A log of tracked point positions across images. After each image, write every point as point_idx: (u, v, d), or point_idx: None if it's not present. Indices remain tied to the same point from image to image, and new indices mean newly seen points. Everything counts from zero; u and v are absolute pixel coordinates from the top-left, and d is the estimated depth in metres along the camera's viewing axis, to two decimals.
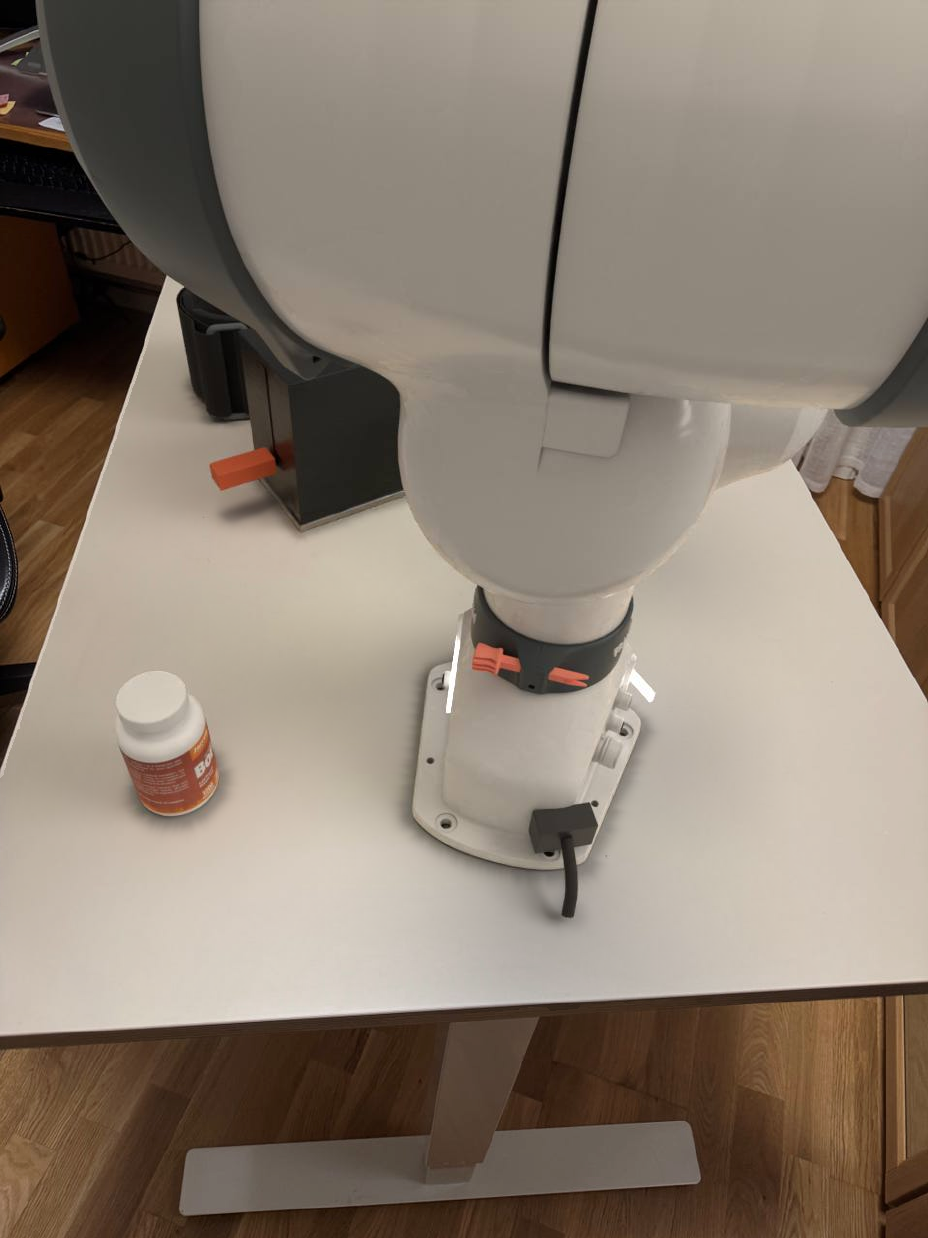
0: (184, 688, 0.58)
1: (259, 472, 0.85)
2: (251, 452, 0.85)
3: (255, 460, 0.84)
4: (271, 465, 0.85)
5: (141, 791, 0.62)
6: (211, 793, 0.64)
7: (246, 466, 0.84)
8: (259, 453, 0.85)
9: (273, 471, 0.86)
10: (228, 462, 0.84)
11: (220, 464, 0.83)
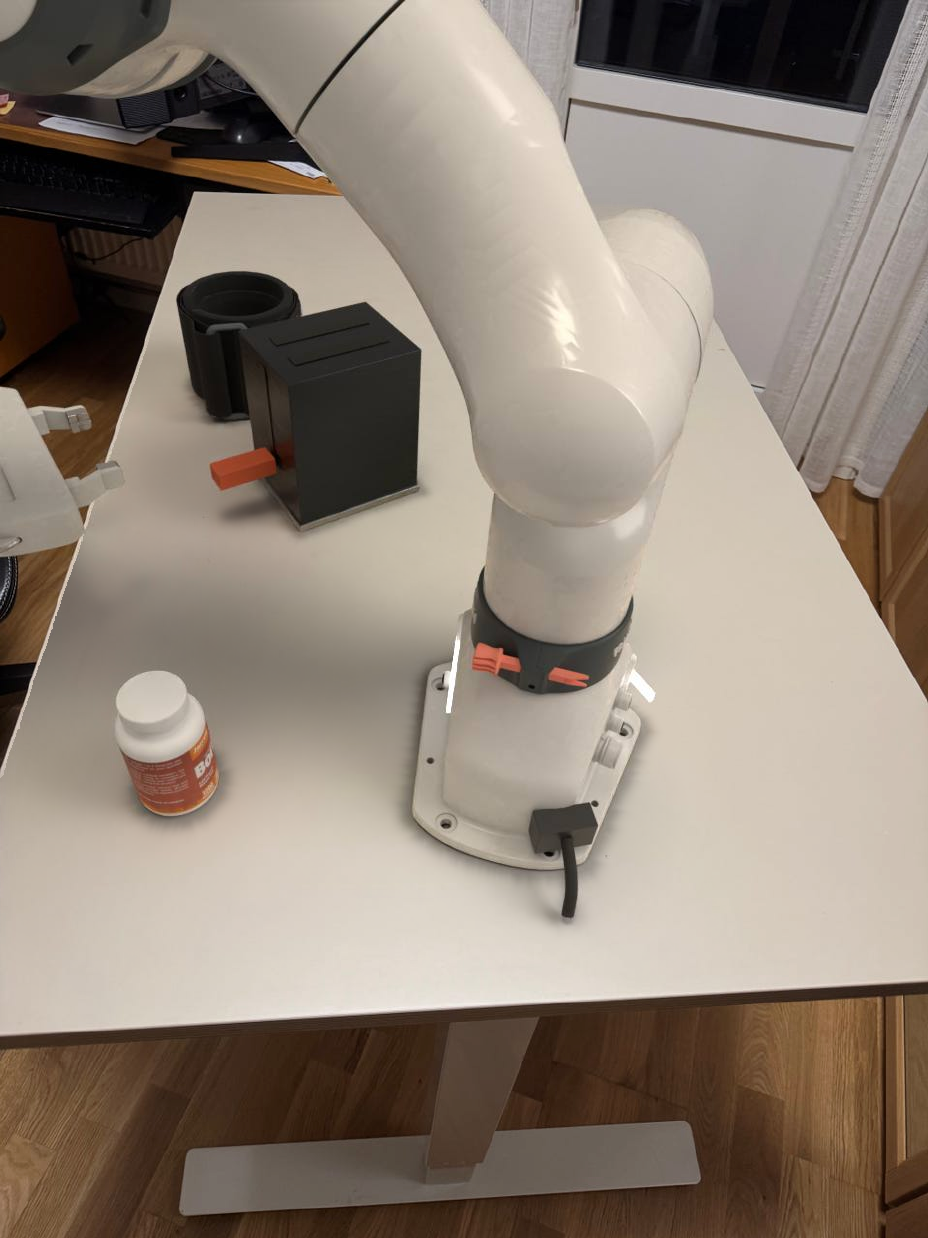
0: (184, 688, 0.58)
1: (259, 472, 0.85)
2: (251, 452, 0.85)
3: (255, 460, 0.84)
4: (271, 465, 0.85)
5: (141, 791, 0.62)
6: (211, 793, 0.64)
7: (246, 466, 0.84)
8: (259, 453, 0.85)
9: (273, 471, 0.86)
10: (228, 462, 0.84)
11: (220, 464, 0.83)
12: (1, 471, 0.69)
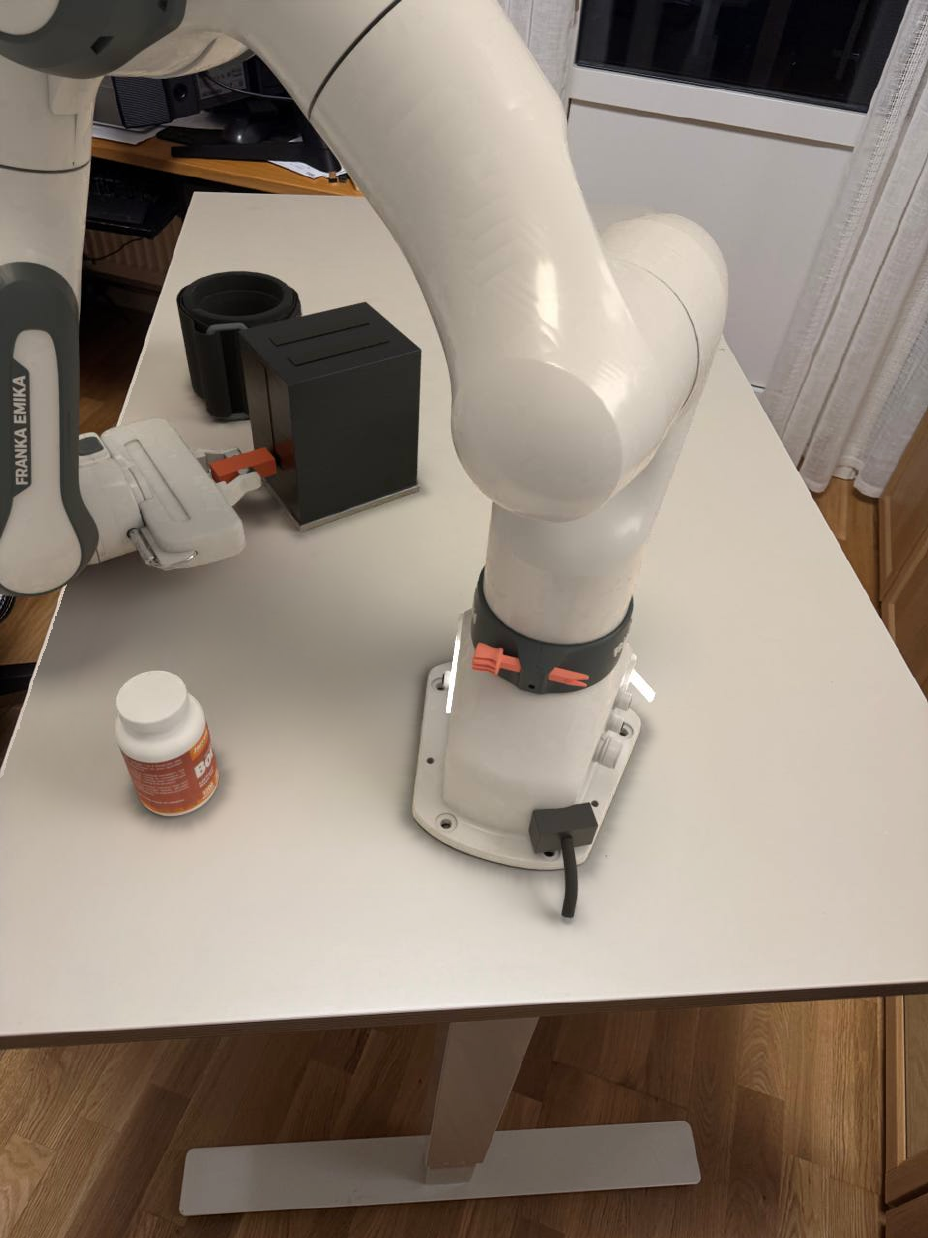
0: (184, 688, 0.58)
1: (259, 472, 0.85)
2: (251, 452, 0.85)
3: (255, 460, 0.84)
4: (271, 465, 0.85)
5: (141, 791, 0.62)
6: (211, 793, 0.64)
7: (246, 466, 0.84)
8: (259, 453, 0.85)
9: (273, 471, 0.86)
10: (228, 462, 0.84)
11: (220, 464, 0.83)
12: (172, 493, 0.79)
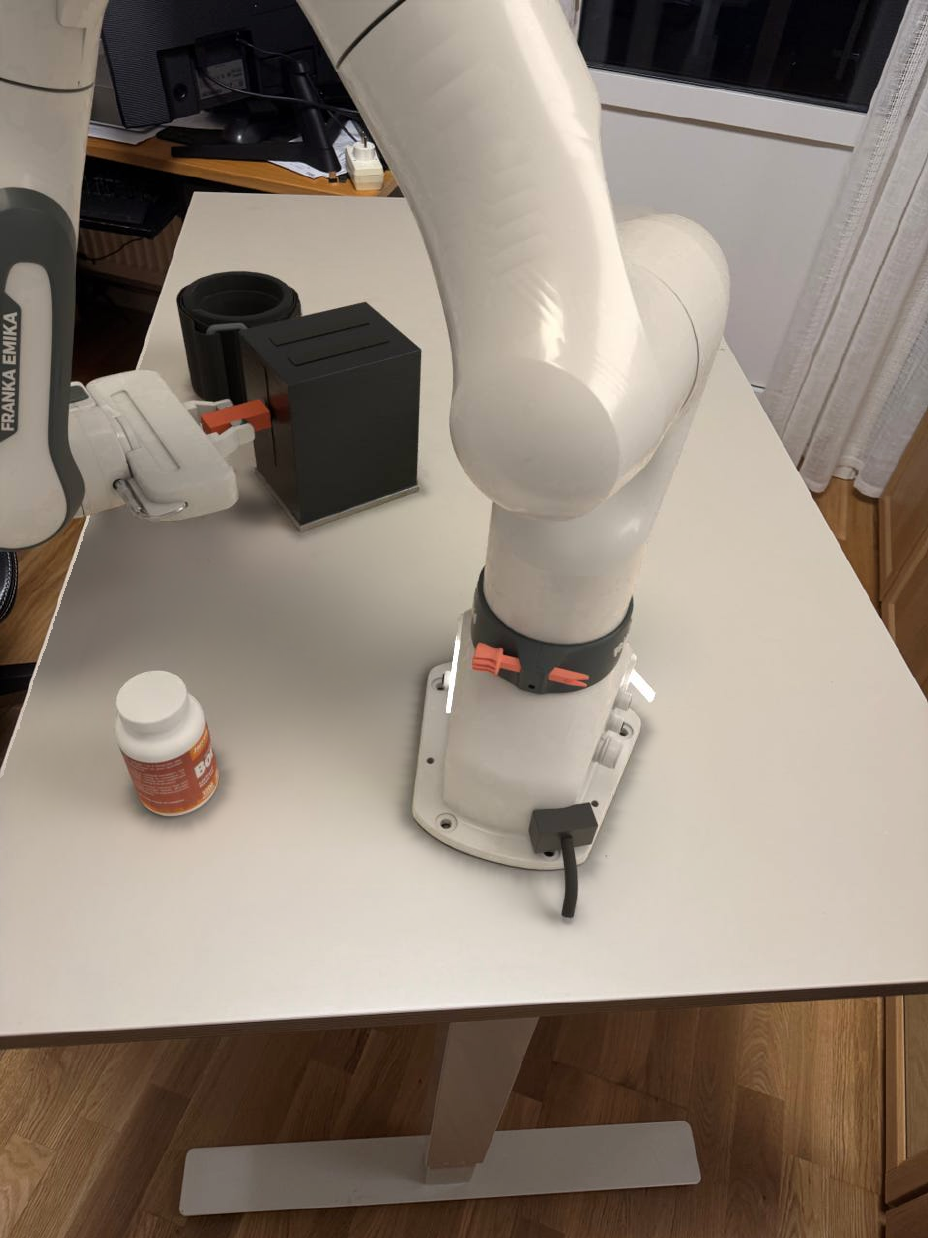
0: (184, 688, 0.58)
1: (253, 425, 0.81)
2: (245, 404, 0.81)
3: (248, 412, 0.80)
4: (266, 418, 0.81)
5: (141, 791, 0.62)
6: (211, 793, 0.64)
7: (239, 417, 0.80)
8: (252, 405, 0.81)
9: (267, 424, 0.82)
10: (220, 414, 0.80)
11: (212, 416, 0.79)
12: (161, 444, 0.75)
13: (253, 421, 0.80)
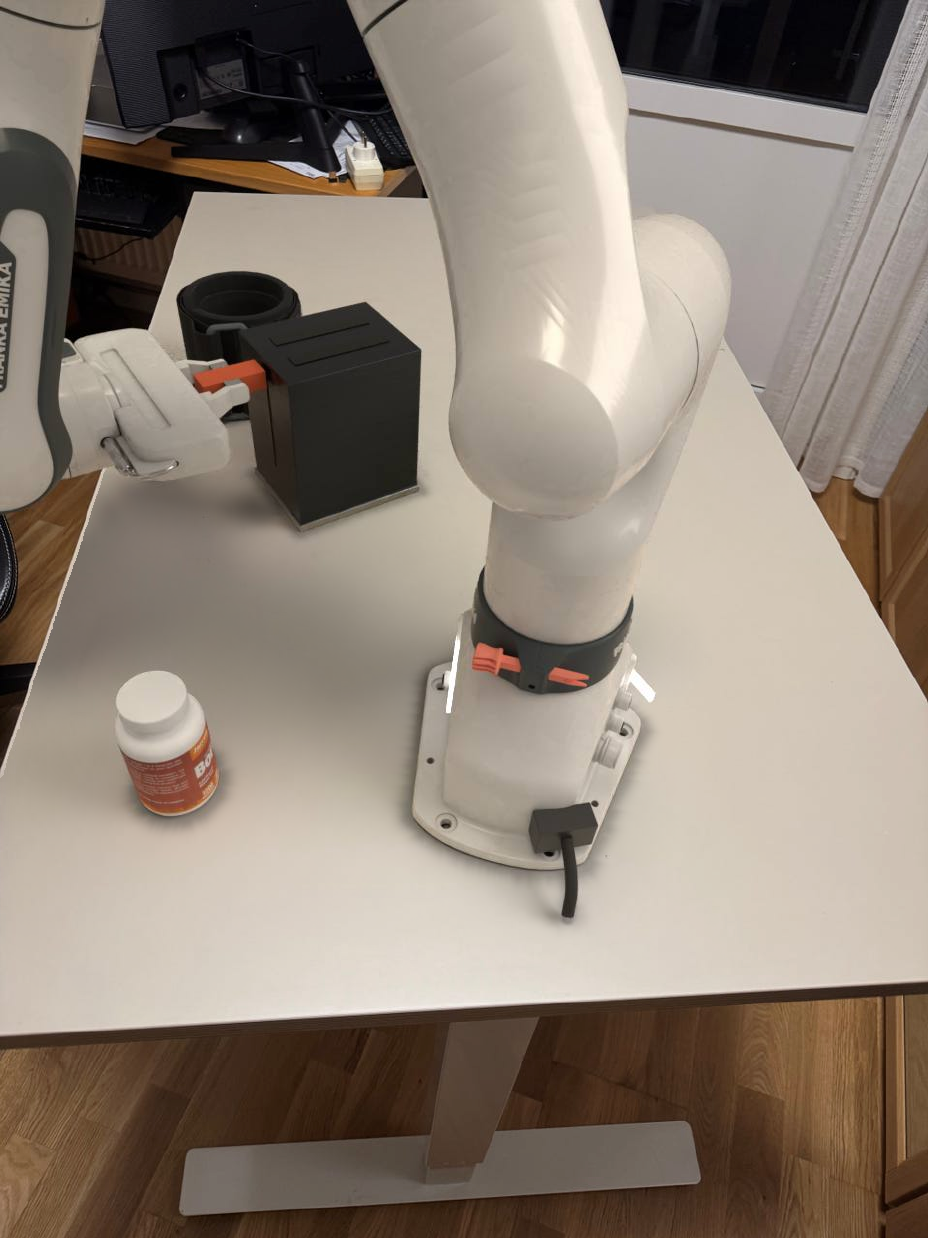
0: (184, 688, 0.58)
1: (248, 385, 0.78)
2: (239, 364, 0.78)
3: (243, 372, 0.77)
4: (261, 378, 0.78)
5: (141, 791, 0.62)
6: (211, 793, 0.64)
7: (233, 377, 0.76)
8: (247, 365, 0.78)
9: (263, 385, 0.78)
10: (213, 373, 0.77)
11: (205, 375, 0.76)
12: (151, 402, 0.72)
13: (248, 381, 0.77)
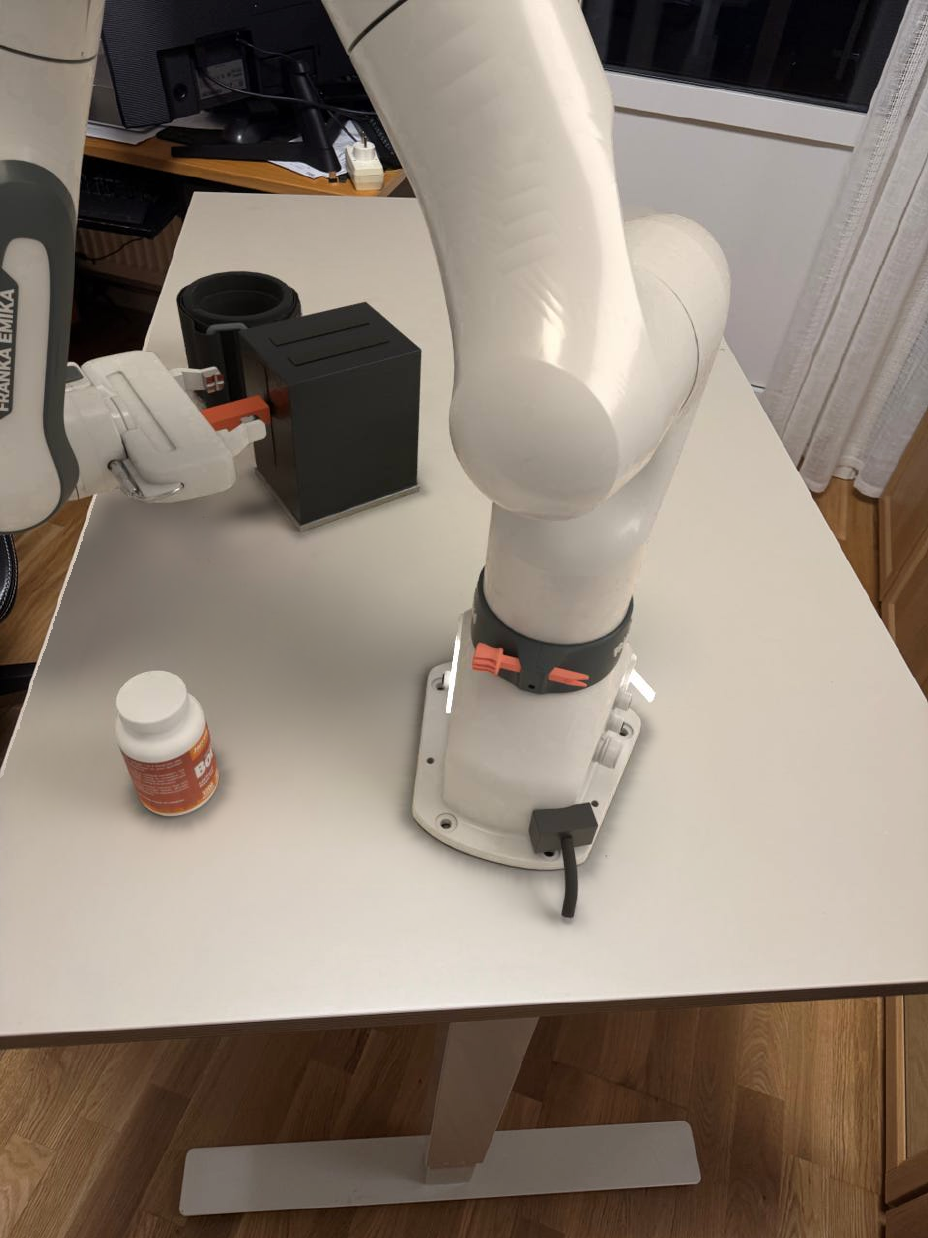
0: (184, 688, 0.58)
1: None
2: (244, 400, 0.81)
3: (248, 408, 0.80)
4: (265, 413, 0.81)
5: (141, 791, 0.62)
6: (211, 793, 0.64)
7: (238, 413, 0.79)
8: (252, 401, 0.81)
9: (267, 420, 0.81)
10: (219, 409, 0.79)
11: (211, 411, 0.79)
12: (157, 424, 0.73)
13: None
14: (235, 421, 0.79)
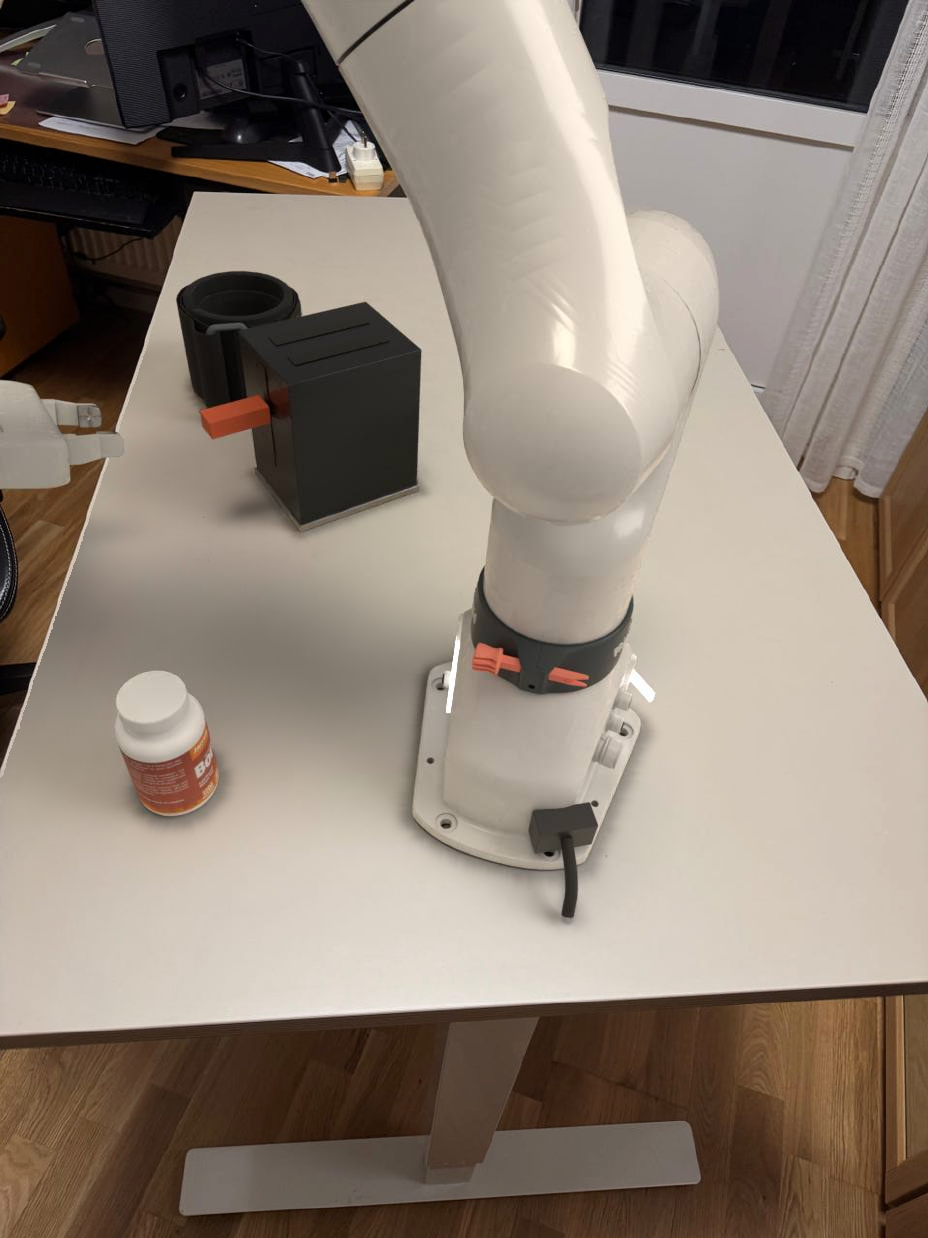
0: (184, 688, 0.58)
1: (252, 421, 0.80)
2: (244, 400, 0.81)
3: (248, 408, 0.80)
4: (265, 413, 0.81)
5: (141, 791, 0.62)
6: (211, 793, 0.64)
7: (238, 413, 0.79)
8: (252, 401, 0.81)
9: (267, 420, 0.81)
10: (219, 409, 0.79)
11: (211, 411, 0.79)
12: None
13: (252, 417, 0.80)
14: (235, 421, 0.79)
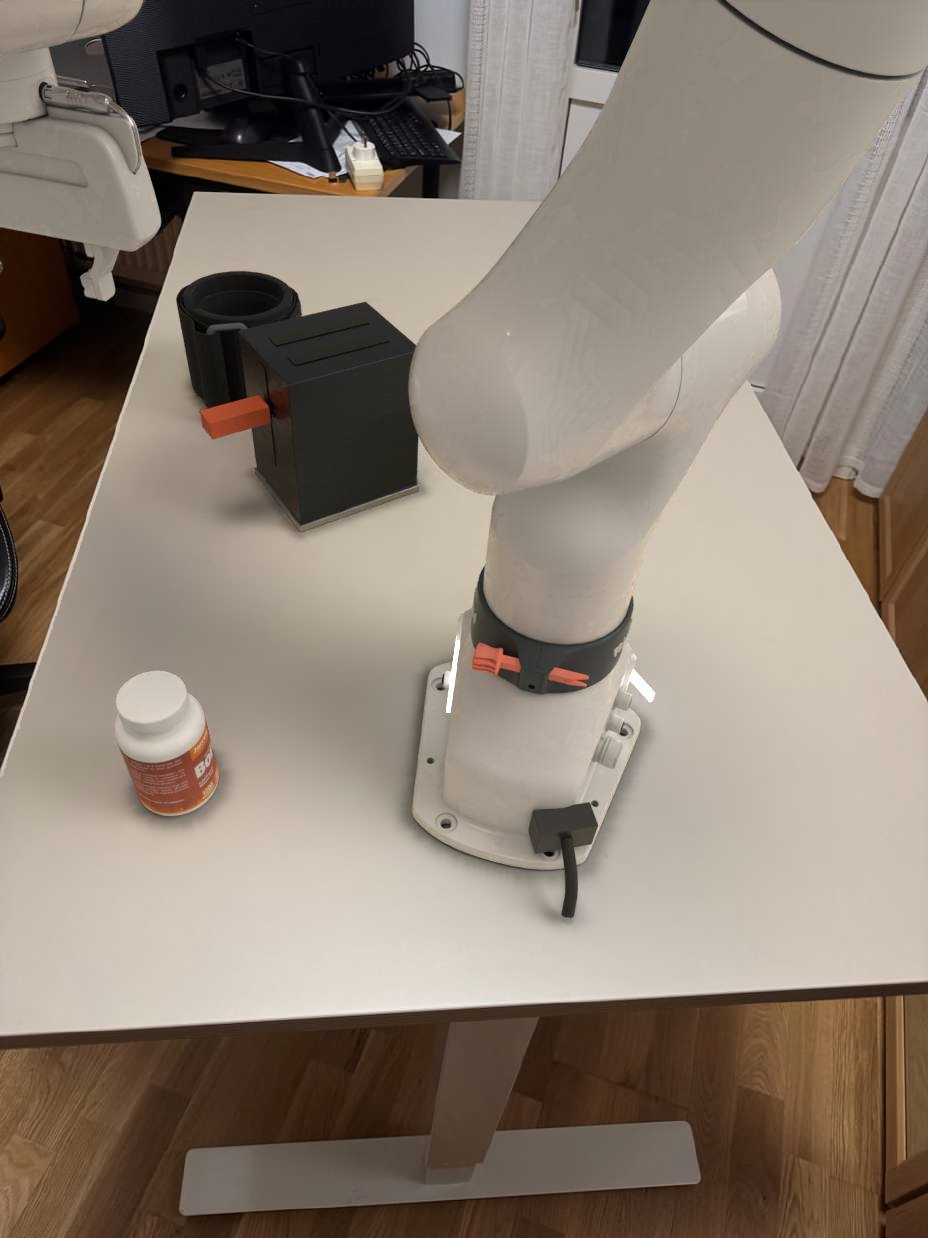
0: (184, 688, 0.58)
1: (252, 421, 0.80)
2: (244, 400, 0.81)
3: (248, 408, 0.80)
4: (265, 413, 0.81)
5: (141, 791, 0.62)
6: (211, 793, 0.64)
7: (238, 413, 0.79)
8: (252, 401, 0.81)
9: (267, 420, 0.81)
10: (219, 409, 0.79)
11: (211, 411, 0.79)
12: None
13: (252, 417, 0.80)
14: (235, 421, 0.79)
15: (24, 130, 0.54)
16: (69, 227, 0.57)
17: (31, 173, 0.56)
